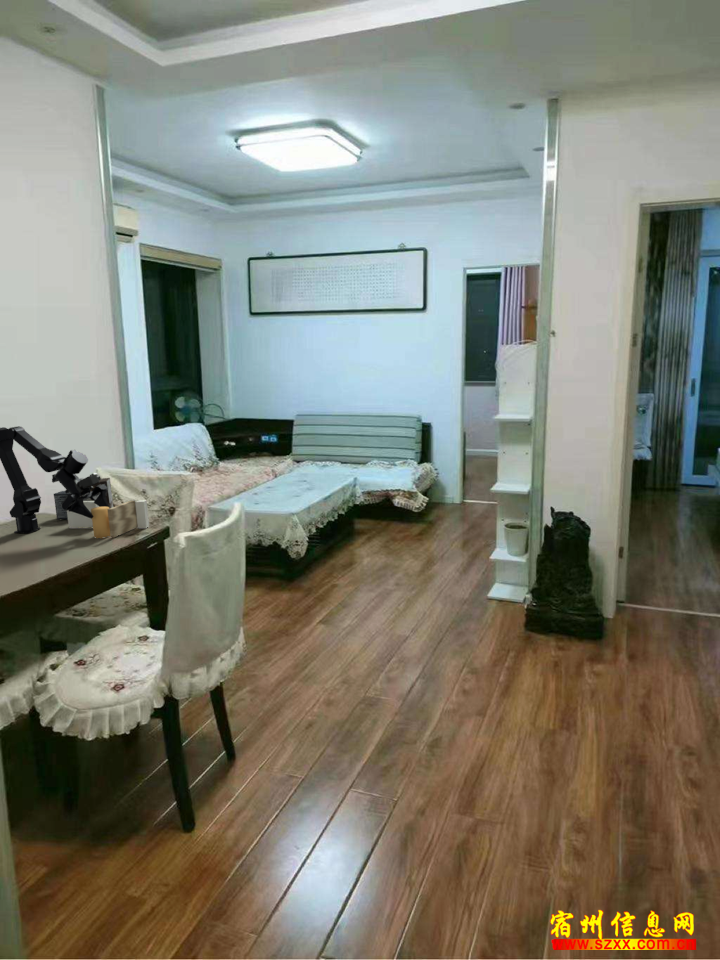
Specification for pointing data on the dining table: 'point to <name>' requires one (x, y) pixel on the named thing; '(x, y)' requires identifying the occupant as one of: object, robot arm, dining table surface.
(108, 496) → the coffee box
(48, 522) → the dining table surface
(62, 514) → the small box
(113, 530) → the door
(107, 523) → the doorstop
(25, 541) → the dining table surface
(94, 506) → the wall frame
